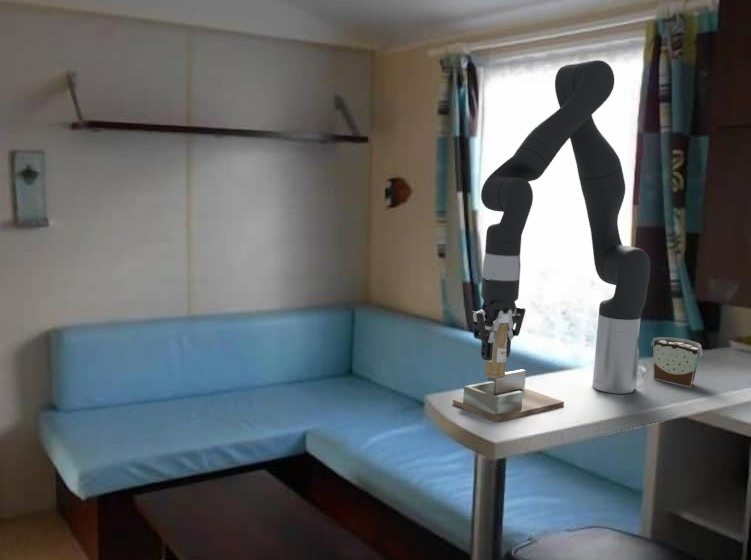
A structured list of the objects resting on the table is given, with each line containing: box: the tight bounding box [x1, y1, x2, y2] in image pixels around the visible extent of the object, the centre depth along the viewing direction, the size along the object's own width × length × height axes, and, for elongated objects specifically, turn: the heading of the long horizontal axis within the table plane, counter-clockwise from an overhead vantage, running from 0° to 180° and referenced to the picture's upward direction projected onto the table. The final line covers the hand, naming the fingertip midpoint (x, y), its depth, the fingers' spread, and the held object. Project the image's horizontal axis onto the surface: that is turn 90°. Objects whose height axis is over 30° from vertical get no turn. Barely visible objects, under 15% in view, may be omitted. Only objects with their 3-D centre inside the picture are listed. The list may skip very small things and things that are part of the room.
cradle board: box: [452, 381, 565, 423], centre depth 167 cm, size 20×13×4 cm, turn 127°
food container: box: [650, 336, 703, 389], centre depth 191 cm, size 12×6×10 cm, turn 44°
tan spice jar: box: [483, 313, 510, 379], centre depth 161 cm, size 5×5×13 cm
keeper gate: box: [486, 369, 527, 395], centre depth 173 cm, size 11×2×4 cm, turn 127°
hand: (495, 357), depth 162 cm, fingers closed on tan spice jar, 4 cm apart
